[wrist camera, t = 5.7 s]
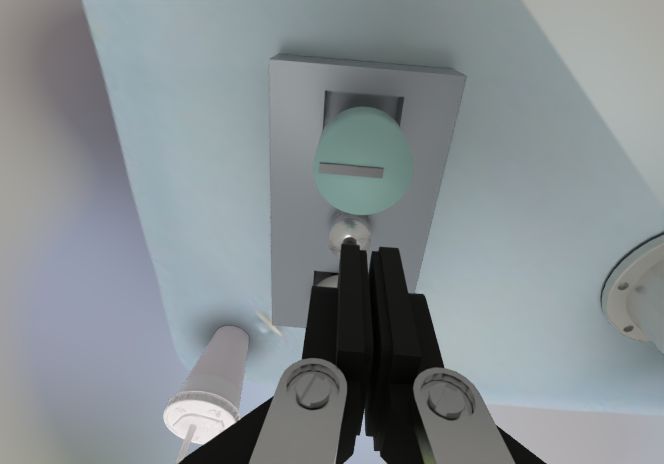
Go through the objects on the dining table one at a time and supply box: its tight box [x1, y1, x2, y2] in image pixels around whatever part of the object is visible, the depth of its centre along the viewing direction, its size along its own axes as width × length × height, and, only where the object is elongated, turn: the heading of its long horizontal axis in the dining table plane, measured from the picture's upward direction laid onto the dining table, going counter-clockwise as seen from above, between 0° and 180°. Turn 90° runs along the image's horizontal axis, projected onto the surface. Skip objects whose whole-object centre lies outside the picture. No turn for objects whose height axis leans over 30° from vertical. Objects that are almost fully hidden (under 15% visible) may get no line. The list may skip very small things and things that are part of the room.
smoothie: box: [163, 326, 249, 464], centre depth 34 cm, size 6×6×14 cm
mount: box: [269, 54, 467, 328], centre depth 29 cm, size 12×22×4 cm, turn 176°
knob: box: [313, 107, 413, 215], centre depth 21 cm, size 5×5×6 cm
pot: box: [328, 210, 371, 259], centre depth 26 cm, size 3×3×4 cm
